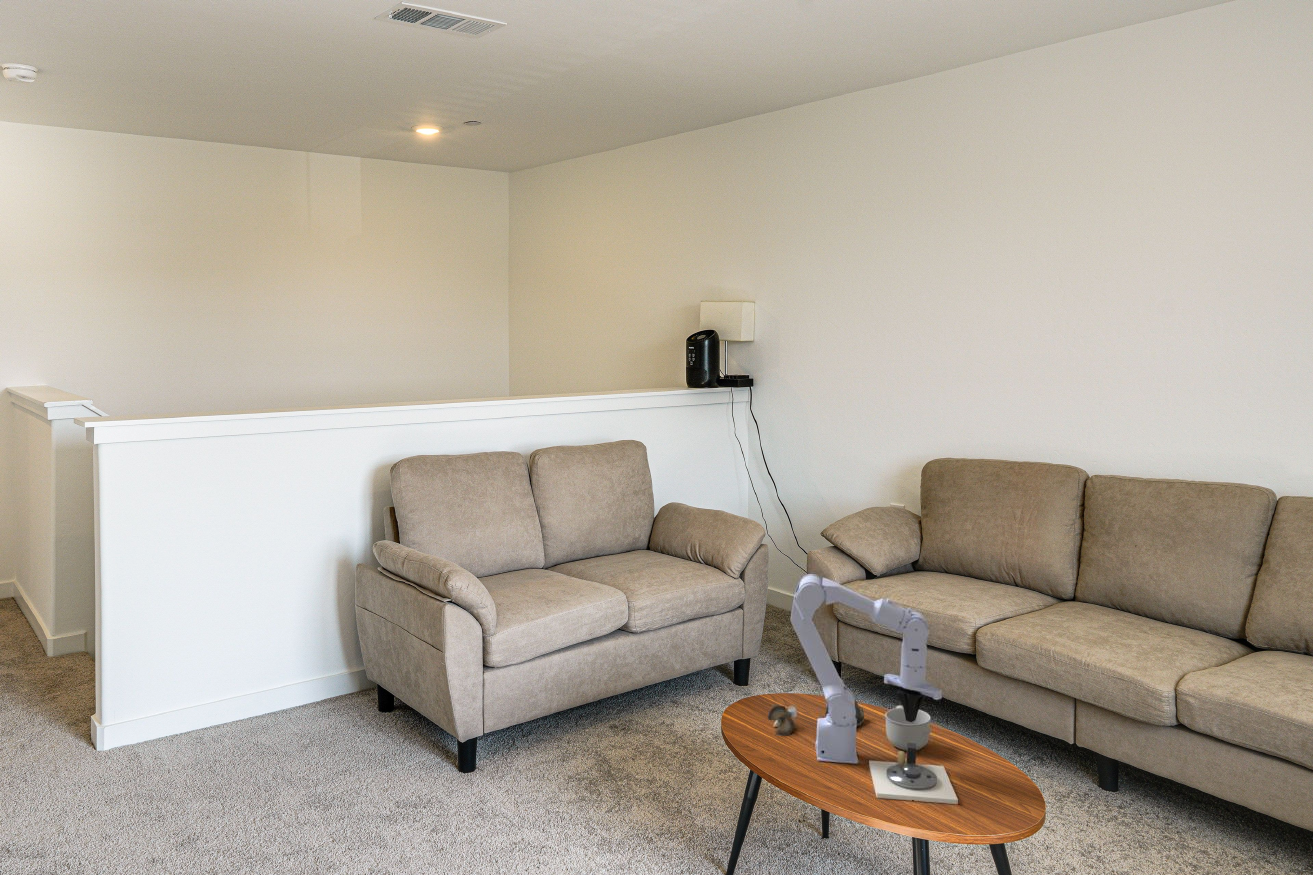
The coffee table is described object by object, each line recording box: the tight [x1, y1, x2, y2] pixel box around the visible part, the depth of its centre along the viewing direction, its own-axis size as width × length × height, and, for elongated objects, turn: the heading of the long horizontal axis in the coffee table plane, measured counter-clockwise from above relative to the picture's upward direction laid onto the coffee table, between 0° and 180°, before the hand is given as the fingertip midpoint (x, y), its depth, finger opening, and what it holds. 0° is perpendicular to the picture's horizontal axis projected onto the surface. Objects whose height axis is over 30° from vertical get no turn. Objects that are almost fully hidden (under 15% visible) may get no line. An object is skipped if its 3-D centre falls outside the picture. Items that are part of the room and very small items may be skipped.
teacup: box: [884, 705, 932, 752], centre depth 229 cm, size 14×11×8 cm
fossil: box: [824, 699, 865, 728], centre depth 242 cm, size 11×9×10 cm
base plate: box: [868, 750, 959, 805], centre depth 206 cm, size 17×17×4 cm
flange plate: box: [886, 743, 937, 789], centre depth 208 cm, size 15×11×4 cm
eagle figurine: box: [767, 703, 798, 736], centre depth 237 cm, size 8×7×9 cm
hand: (910, 720), depth 217 cm, fingers closed
